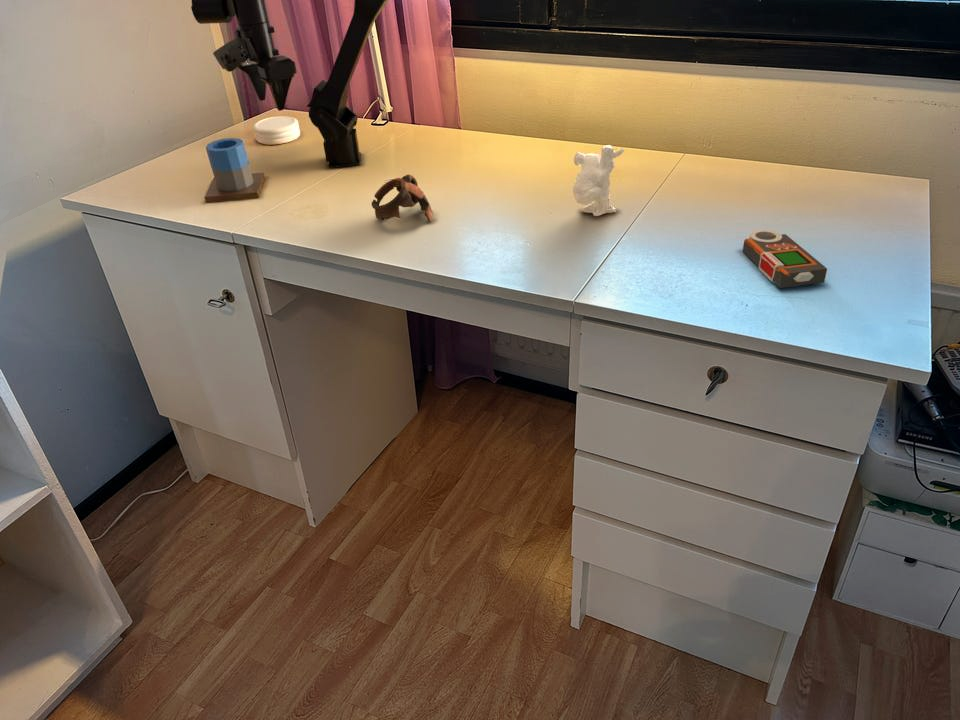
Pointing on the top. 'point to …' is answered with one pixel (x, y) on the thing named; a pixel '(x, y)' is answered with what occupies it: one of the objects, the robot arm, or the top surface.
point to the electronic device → (783, 259)
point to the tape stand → (246, 193)
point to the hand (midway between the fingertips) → (271, 105)
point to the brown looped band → (401, 198)
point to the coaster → (276, 130)
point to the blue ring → (227, 154)
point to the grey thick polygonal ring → (233, 178)
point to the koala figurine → (595, 180)
